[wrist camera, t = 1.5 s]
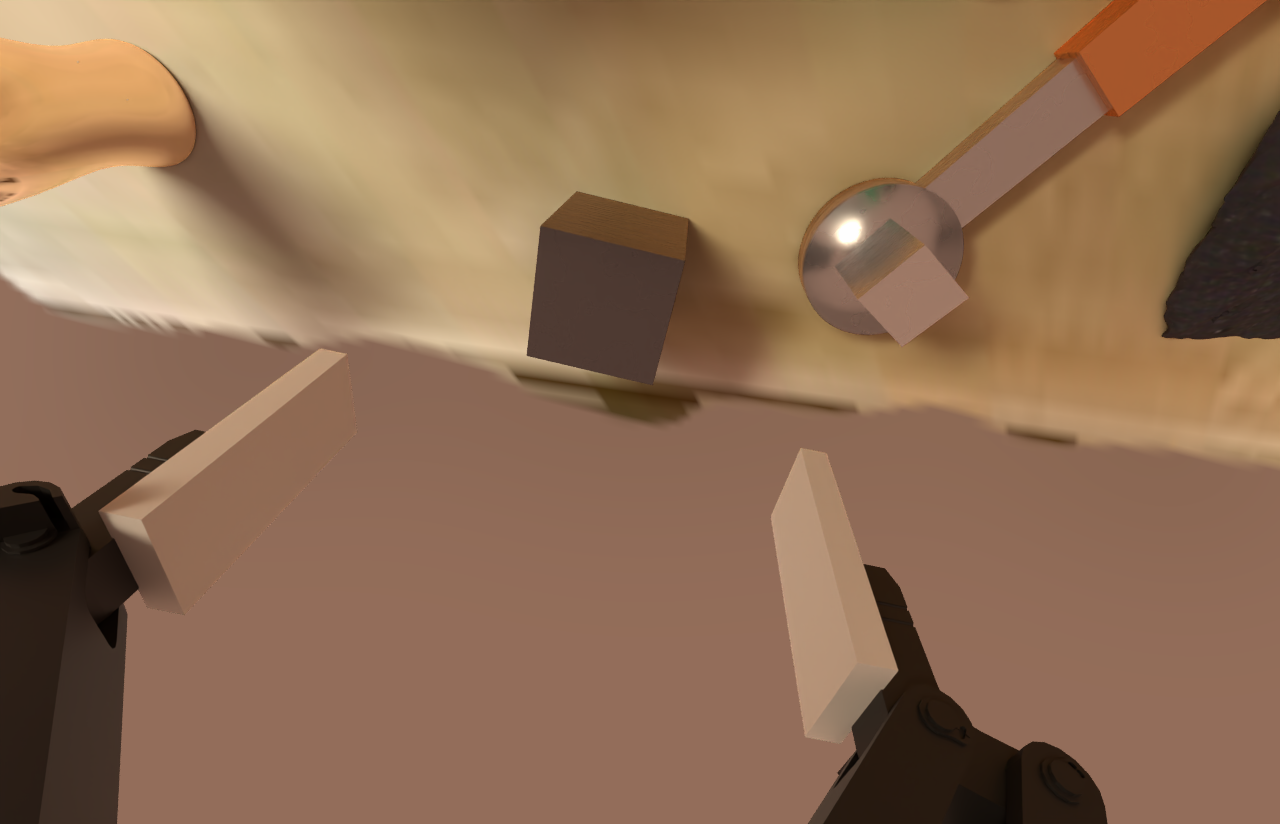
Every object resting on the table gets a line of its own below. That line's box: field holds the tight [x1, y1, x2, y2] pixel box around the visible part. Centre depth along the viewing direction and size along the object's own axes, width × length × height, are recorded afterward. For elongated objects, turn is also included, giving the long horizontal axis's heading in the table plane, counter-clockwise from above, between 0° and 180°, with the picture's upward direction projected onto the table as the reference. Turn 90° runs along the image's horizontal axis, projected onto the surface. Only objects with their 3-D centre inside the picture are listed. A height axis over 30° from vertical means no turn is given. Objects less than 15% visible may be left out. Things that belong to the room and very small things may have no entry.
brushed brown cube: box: [527, 192, 689, 385], centre depth 28 cm, size 6×6×8 cm
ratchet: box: [798, 0, 1267, 347], centre depth 24 cm, size 24×8×7 cm, turn 138°
